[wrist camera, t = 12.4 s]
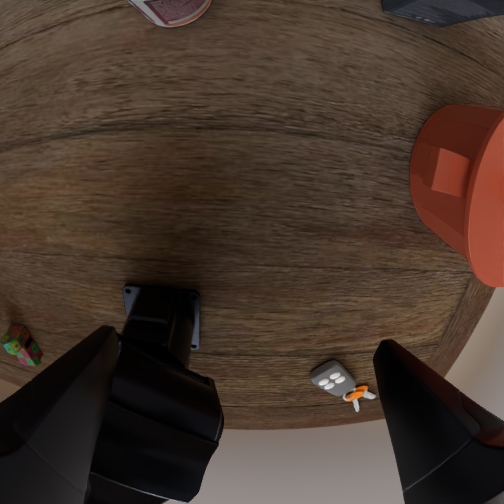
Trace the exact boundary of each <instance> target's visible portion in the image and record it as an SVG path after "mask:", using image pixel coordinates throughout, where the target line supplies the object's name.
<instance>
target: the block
mask: <svg viewBox="0 0 504 504" xmlns="http://www.w3.org/2000/svg"><path fill="white" fill-rule="evenodd" d="M29 337H30V334H29V333H28V331H27V330H26V328H25V326H24V325H11V326H10V327H9V329H8V330H7V331H6V333H5V334H4V335H3V337H2V339H1V343H2V344H3V346H4V347H5V349H6V350H7V352H8V353H9V354H15V355H16V356H17V358H18V359H19V360H20V362H21V363H22V365H28V366H37V365H38V364H40V363H41V361H40V359H41V357H42V356H43V354H42V353H41V351H40V350H39V348H38V347H37V345H36V344H35V342H34V341H32V342H31V343H30V345H29V346H28V348H27V349H26V347H25V346H24V344H25V343H26V341H27V340H28V338H29Z"/></svg>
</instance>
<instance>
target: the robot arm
mask: <svg viewBox="0 0 504 504" xmlns="http://www.w3.org/2000/svg"><path fill="white" fill-rule="evenodd" d="M127 289H129V290H130V291H128V290H127ZM122 291H123V298H124V304H125V310H126V316H127V319H126V322H125V324H124V326H123V329H122V331H121V333H120V334H119V333H117V332H116V330H115V328H114V327H113V326H108V325H103V326H101V327H99V328H98V329H97V330H95V331H94V332H93V333H91V334H90V335H89V336H87V337H86V338H85V339H83V340H82V341H81V342H79V343H78V344H77V345H76V346H74V347H73V348H72V349H70V350H69V351H68V352H66V353H65V354H64V355H63V356H61V357H60V358H59V359H57V360H56V361H55V362H54V363H52V364H51V365H50V366H48V367H47V368H46V369H45V370H43V371H42V372H41V373H39V374H38V375H37V376H36V377H34V378H33V379H32V380H31V381H29V382H28V383H27V384H25V385H24V386H23V387H22V388H21V389H19V390H18V391H17V392H15V393H14V394H12V395H11V396H10V397H8V398H7V399H5V400H4V401H2V402H1V403H0V504H163V503H165V502H167V501H168V500H174V501H178V502H183V503H188V502H189V501H191V500H192V499H193V497H195V496H196V495H197V494H198V492H199V490H200V487H201V483H202V479H203V476H204V473H205V470H206V467H207V465H208V463H209V461H210V458H211V456H212V455H213V453H214V452H215V450H216V449H217V447H218V445H219V439H220V438H221V435H222V431H223V426H224V415H223V411H222V408H221V404H220V401H219V397H218V394H217V390H216V387H215V383H214V380H213V379H211V378H209V377H204V376H201V375H199V374H197V373H195V372H193V371H190V370H188V367H189V360H190V353H191V350H197V349H199V346H200V293H199V292H198V291H196V290H190V289H178V288H173V287H163V286H153V285H138V284H125V285H124V287H123V290H122ZM192 295H194V296H196V297H195V298H194V297H192ZM193 344H194V345H193ZM373 364H374V369H375V375H376V380H377V386H378V391H379V396H380V400H381V404H382V408H383V411H384V415H385V419H386V422H387V426H388V430H389V434H390V437H391V442H392V446H393V450H394V453H395V458H396V463H397V467H398V472H399V476H400V481H401V485H402V490H403V496H404V501H405V504H504V421H503V420H501V419H500V418H498V417H497V416H495V415H494V414H492V413H491V412H489V411H487V410H486V409H484V408H483V407H481V406H480V405H478V404H477V403H476V402H474V401H473V400H471V399H470V398H469V397H468V396H466V395H465V394H464V393H462V392H460V390H458V389H457V388H456V387H454V386H453V385H452V384H451V383H449V382H448V381H447V380H445V379H444V378H443V377H442V376H440V375H439V374H438V373H436V372H435V371H434V370H432V369H431V368H430V367H429V366H427V365H426V364H425V363H423V362H422V361H421V360H419V359H418V358H417V357H415V356H414V355H413V354H411V353H410V352H409V351H407V350H406V349H405V348H403V347H402V346H401V345H399V344H398V343H397V342H396V341H394V340H392V339H388V340H382V341H381V342H380V344H379V346H378V348H377V350H376V352H375V354H374V357H373Z"/></svg>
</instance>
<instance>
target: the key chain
mask: <svg viewBox="0 0 504 504" xmlns="http://www.w3.org/2000/svg"><path fill="white" fill-rule="evenodd" d="M309 376H310V380H311V381H312V382H313V383H314V384H316V385H317V386H319V387H321V388H322V389H324V390H326V391H328V392H329V393H331V394H333V395H336V396H341V395H343V399H344V400H346V401H352V400H353V403H354V408H355V410H356V412H357V411H359V405H358V401H357V398H360V397H361V396H364V398H369V399H373V398H375V397H376V395H374V394H372V393H370V392H368V391H367V389H368V387H367V386H365V385H363V386H359V387H357V388H356V387H355V386H356V383H355V381H354V379H353V377H352V376H351V375H350V374H349V373H348V372H347V371H346V370H345V369H344V367H343V366H342V365H341V364H340V363H339V362H337V361H335V360H334V361H329V362H326V363H325V364H323V365H321V366H319V367H318V368H316V369H315V370H313V372H312V373H311V374H310V375H309ZM352 390H353V391H352ZM350 391H352V393H351V394H349V395H347V396H346V397H345V394H346V393H348V392H350Z"/></svg>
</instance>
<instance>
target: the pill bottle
mask: <svg viewBox="0 0 504 504" xmlns="http://www.w3.org/2000/svg"><path fill="white" fill-rule="evenodd" d="M127 1H128V2H129V3H130V4H131V5H133V6H134V7H135V8H136V9H137V10H138V11H139V12H141V13H142V14H143V15H144V16H145V17H146V18H147V19H148V20H150V21H151V22H153V23H154V24H157V25H159V26H164V27H177V26H182V25H185V24H188V23H190V22H192V21H194V20H196V19H197V18H199V17H200V16H201V15H202V14H203V13H204V12H205V11H206V10H207V8H208V7H209V5H210V3H211V1H212V0H127Z"/></svg>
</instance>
